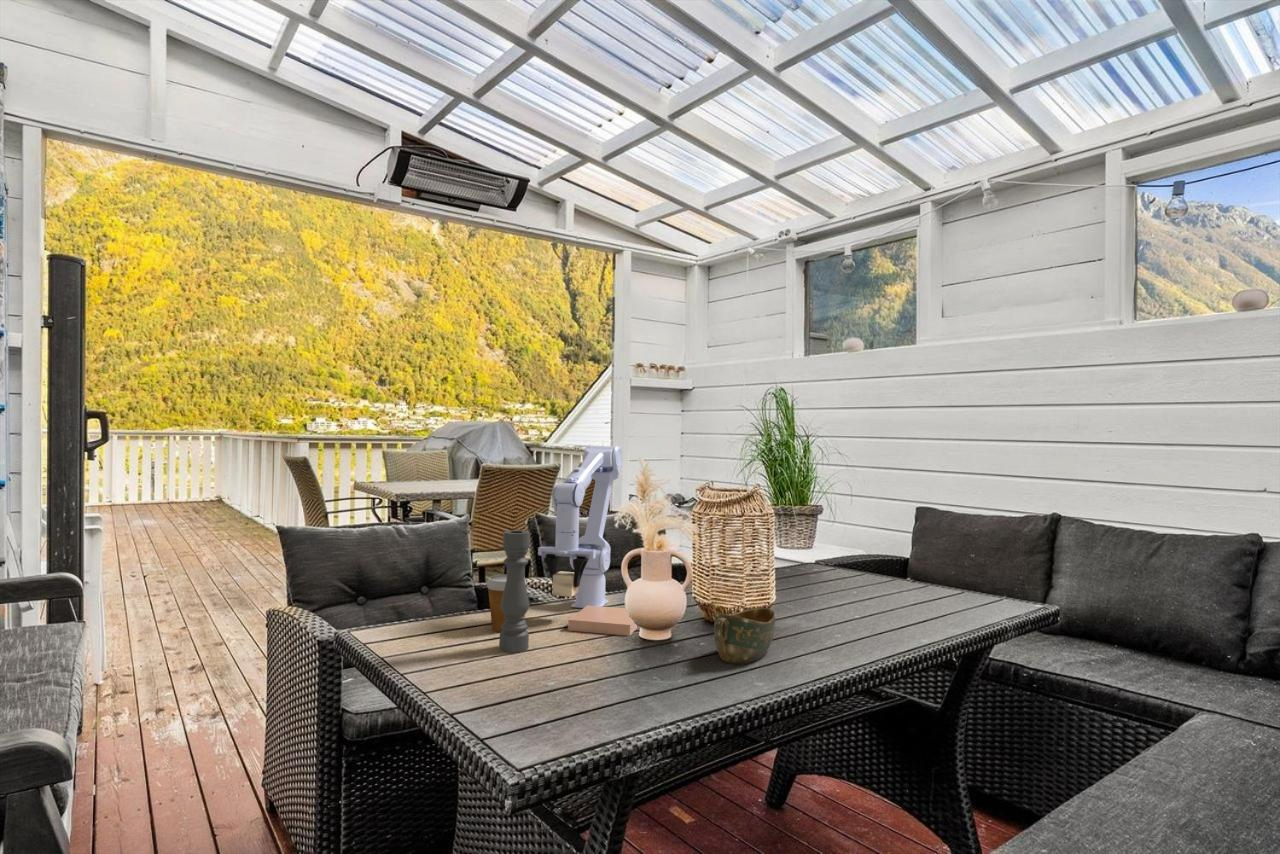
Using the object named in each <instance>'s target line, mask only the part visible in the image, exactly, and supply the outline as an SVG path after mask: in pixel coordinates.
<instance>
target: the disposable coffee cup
mask: <svg viewBox="0 0 1280 854" xmlns="http://www.w3.org/2000/svg"><path fill="white" fill-rule="evenodd" d="M506 579H507V573H506V574H502V573H501V574H494V575H491V576H489V577H488V578H487V581H486V582H485V585H486V588H487V589H488V599H489V609H490V619H491V621H490V622H491V630H492V631H494V632H499V633H500V632H501V631H503V630H502V629H501V625H502V624H503V622H504V621H505V620H506V619H505V618H504V616H505V615H504V613H503V612H502V610H501V607H500V604H501V600H502V596H503V592H504V588H505V584H506ZM525 584H526V586H527V585H528V582H527V581H526V579H525Z"/></svg>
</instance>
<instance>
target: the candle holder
mask: <svg viewBox="0 0 1280 854" xmlns="http://www.w3.org/2000/svg"><path fill="white" fill-rule="evenodd" d="M530 542H531V531H528V530H522V529H521V530H517V529H515V530H505V531H503V533H502V547H503V548H504V550H503V551H504V553H505V555H506V558H505V559H504V560H503V564H504V565H505V567H506V574H507V579H506V584H505V588H504V592H503V596H502V600H501V604H500V607H501V610H502V612H503V613H504V615H505V616H504V618H505V619H506V620H505V621H504V622H503V624H502V625H501V629H502V630H503V631H501V632H499V641H498V643H499V645H498V646H499V648H498V649H499V650H500V651H501V652H503V653H509V654H510V653H512V654H513V653H514V654H515V653H516V654H517V653H522V652H525V651H528V649H529V643H530V642H529V639H530V638H529V637H530V633H529V631H528V627H529V626H528V624H527V622H526V620H525V618H526V613H527V612H528V611H529V608H530V598H529V594H528V591H527V585H526V584H525V580H526V577H525V576H526V566H527V565H528V563H529V559H528V558H526V556H527V553H528V552H529V548H530V545H531V543H530Z"/></svg>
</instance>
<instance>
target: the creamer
mask: <svg viewBox="0 0 1280 854" xmlns="http://www.w3.org/2000/svg"><path fill="white" fill-rule="evenodd" d="M713 623H714V624H713V626H714V627H713V637H714V643H715V647H716V650H717V653H718V655H719V657H720V659H721V660H722V661H723V662H727V663H731V664H738V665H739V664H741V665H742V664H750V663H754V662H756V661H758V660H759V661H760V660H761V659H763V658H765V656H766V655H767V653H768V650H769V648H770V646H772V645H771V644H772V642H773V639H774V638H773V637H774V634H775V627H776V613H775V611H774V610H773V609H770V608H768V607H755V608H751V609H746V610H741V611H738V612H735V613H729V614H725V613H721V612H715V615H714V622H713Z"/></svg>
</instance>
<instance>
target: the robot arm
mask: <svg viewBox="0 0 1280 854" xmlns="http://www.w3.org/2000/svg"><path fill="white" fill-rule="evenodd" d="M582 459H583V460H582V462H581V464H580V466H579V467H574V468H573V469H572V471H570V473H569V474H568V475H567V477H566V478H565V480H564V481H562V482H559V483H558V484H556V485H554V487H553V490H552V496H551V499H552V503H553V511H554V513H555V544H554V545H555V546H539V547H537V551H538V552H537V555H538V556H545V557H544V558H543V560H544V563H545V564H546V566H547V569H548V571H549V575H550V579H551V584H552V585H553V575H554V574H556V573H558V572H559V569H560V568H559V567H560V561H561V557H568V558H569V565H570V566H571V568H572V570H573V572H574V587H578V593H577V594H575V602H573V603H572V604H571V605H570V607H571V608H578V609H583V608H584V607H586V606H587V605H589V606H602V607H605V605H607V604H608V602H609V600H608V599H606V576H605V574H604V573H606V572H607V571H608V570H609V568H610V564H611V550H612V548H611V545H610V544H609V542H608V541H606V540H605V538H604V537H603V536H604V533H605V532H604V531H605V526H606V522H607V517H608V510H609V505H610V500H611V494H612V489H613V485H614V481H615V480H617V479H618V478H619V477H620V473H621V469H622V464H623V452H622V450H621V448H620V446H618V445H615V446H611V445H591V444H588V445H586V447H585V448H584V450H583V453H582ZM592 480H594V481H595V483H594V487H593V488H594V489H593V492H592V498H591V502H590V507H589V512H588V517H587V522H586V528H585V533H584V535H582V536H580V535H579V534H580V525H579V524H580V507H581V505H583V501H584V498H585V496H586V490H587V488H588V487H589V486H590V485H591V482H592Z"/></svg>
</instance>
